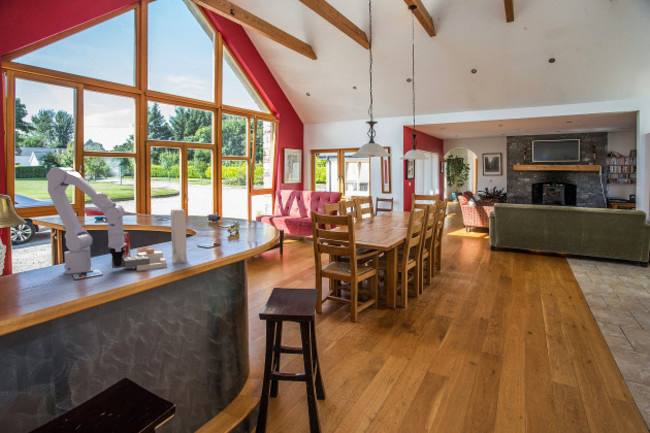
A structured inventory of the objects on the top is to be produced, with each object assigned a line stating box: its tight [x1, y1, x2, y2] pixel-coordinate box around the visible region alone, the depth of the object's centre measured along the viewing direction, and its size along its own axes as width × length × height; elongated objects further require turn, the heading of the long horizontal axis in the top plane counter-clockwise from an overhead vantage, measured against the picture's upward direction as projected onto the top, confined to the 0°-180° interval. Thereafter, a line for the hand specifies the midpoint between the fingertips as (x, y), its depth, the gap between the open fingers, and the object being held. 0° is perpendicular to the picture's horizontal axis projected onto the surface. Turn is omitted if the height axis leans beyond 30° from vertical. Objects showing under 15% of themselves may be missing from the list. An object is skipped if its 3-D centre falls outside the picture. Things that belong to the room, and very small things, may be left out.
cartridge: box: [111, 255, 150, 269], centre depth 166 cm, size 14×6×4 cm, turn 124°
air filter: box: [170, 208, 188, 265], centre depth 178 cm, size 6×6×25 cm
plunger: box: [145, 248, 155, 254], centre depth 176 cm, size 3×3×5 cm
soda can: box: [123, 231, 131, 258], centre depth 183 cm, size 7×7×13 cm
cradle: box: [134, 250, 168, 272], centre depth 172 cm, size 12×14×5 cm
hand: (117, 265), depth 164 cm, fingers open, 3 cm apart
